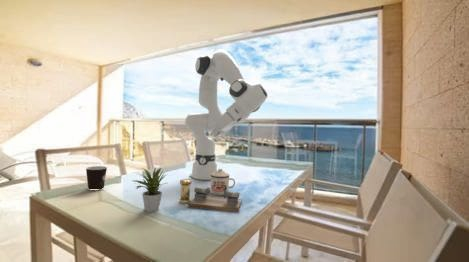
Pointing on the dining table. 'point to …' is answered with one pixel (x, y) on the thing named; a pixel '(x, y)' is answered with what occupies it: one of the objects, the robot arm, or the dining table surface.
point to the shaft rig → (215, 200)
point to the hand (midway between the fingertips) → (213, 135)
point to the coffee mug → (96, 177)
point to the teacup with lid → (220, 182)
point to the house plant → (151, 190)
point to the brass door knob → (185, 191)
